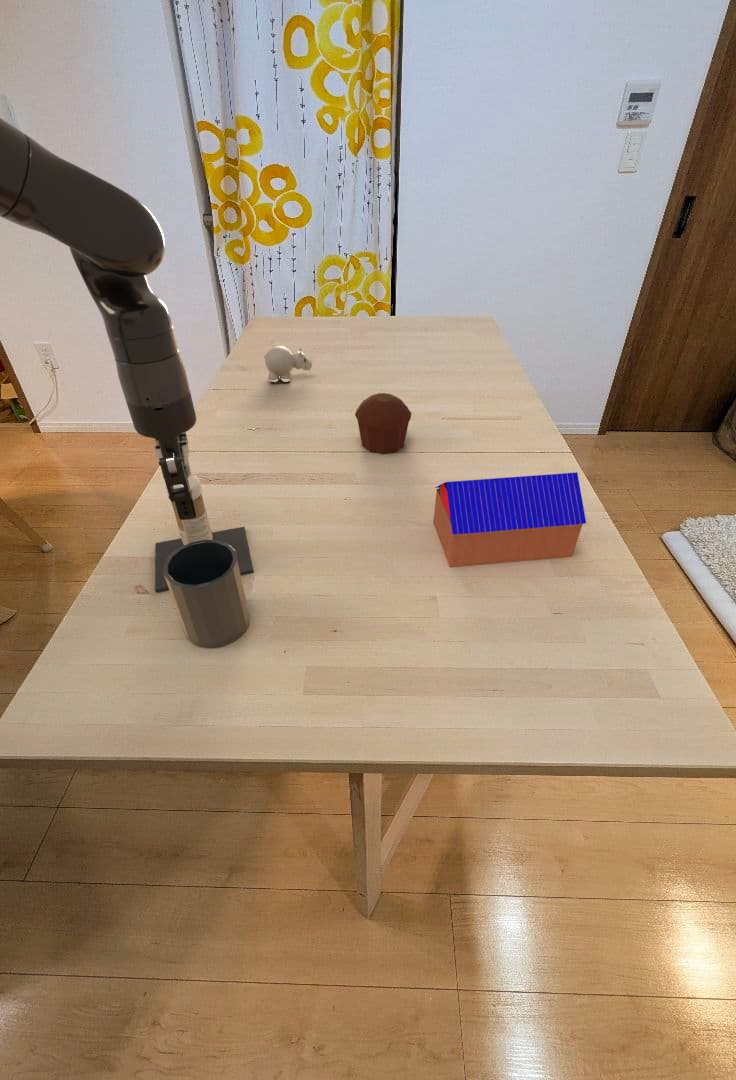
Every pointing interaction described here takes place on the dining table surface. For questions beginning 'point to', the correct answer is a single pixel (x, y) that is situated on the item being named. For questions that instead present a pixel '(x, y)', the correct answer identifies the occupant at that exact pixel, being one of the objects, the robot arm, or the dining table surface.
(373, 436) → the muffin
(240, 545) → the mat
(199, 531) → the sprinkles bottle
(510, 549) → the house
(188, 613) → the cup
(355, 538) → the dining table surface
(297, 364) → the chubby cartoon animal
